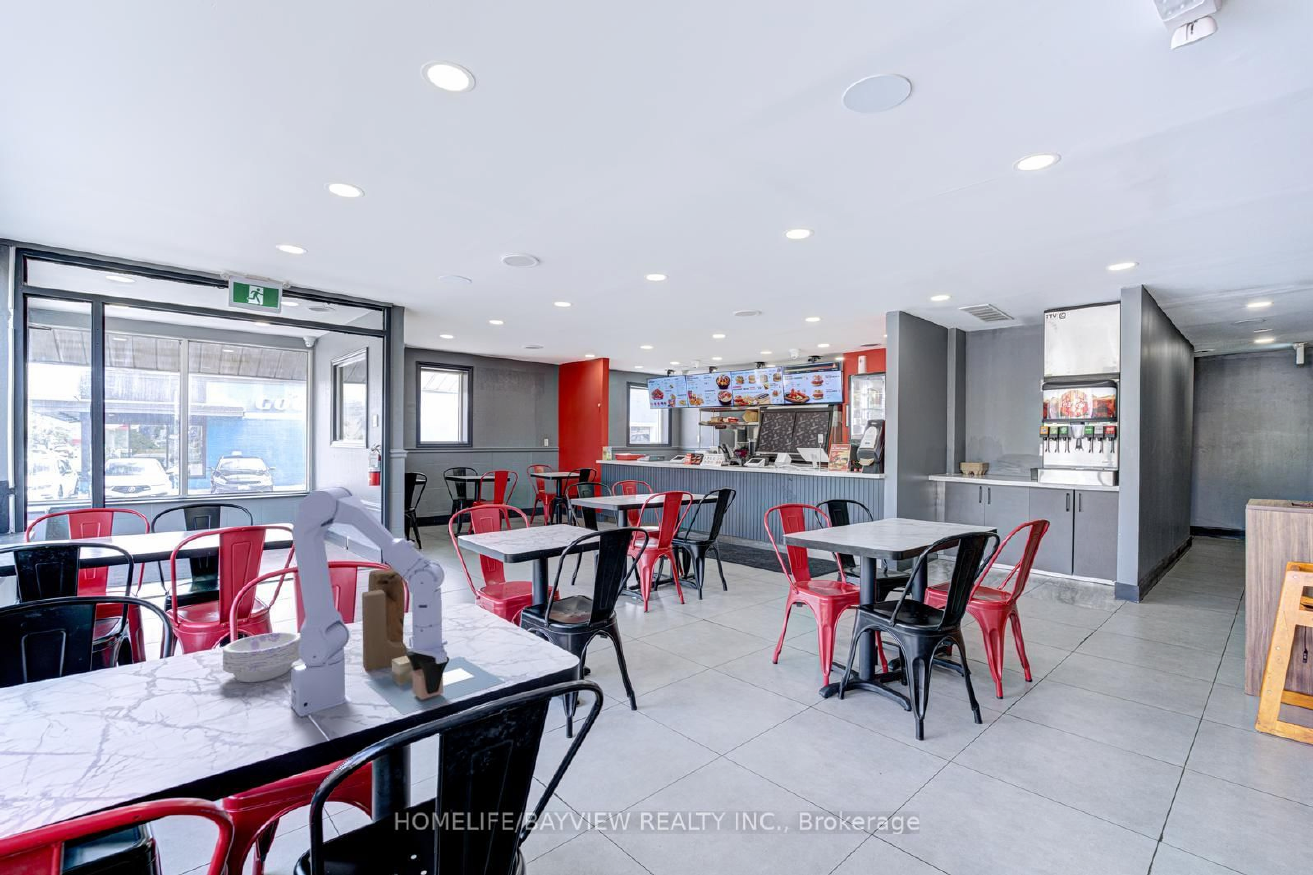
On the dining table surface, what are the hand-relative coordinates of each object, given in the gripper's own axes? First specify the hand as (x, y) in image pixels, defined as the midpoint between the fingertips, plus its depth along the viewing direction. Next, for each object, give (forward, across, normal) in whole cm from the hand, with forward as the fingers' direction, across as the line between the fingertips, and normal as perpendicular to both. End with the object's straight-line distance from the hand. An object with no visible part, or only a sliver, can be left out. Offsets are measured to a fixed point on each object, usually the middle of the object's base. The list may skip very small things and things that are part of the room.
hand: (427, 688), depth 126 cm
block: (+2, +38, -5) cm, 38 cm away
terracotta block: (+1, 0, 0) cm, 1 cm away
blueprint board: (+2, +6, -4) cm, 8 cm away
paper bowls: (+2, +40, +22) cm, 46 cm away
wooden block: (+2, +25, 0) cm, 25 cm away
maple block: (+2, +12, 0) cm, 12 cm away
